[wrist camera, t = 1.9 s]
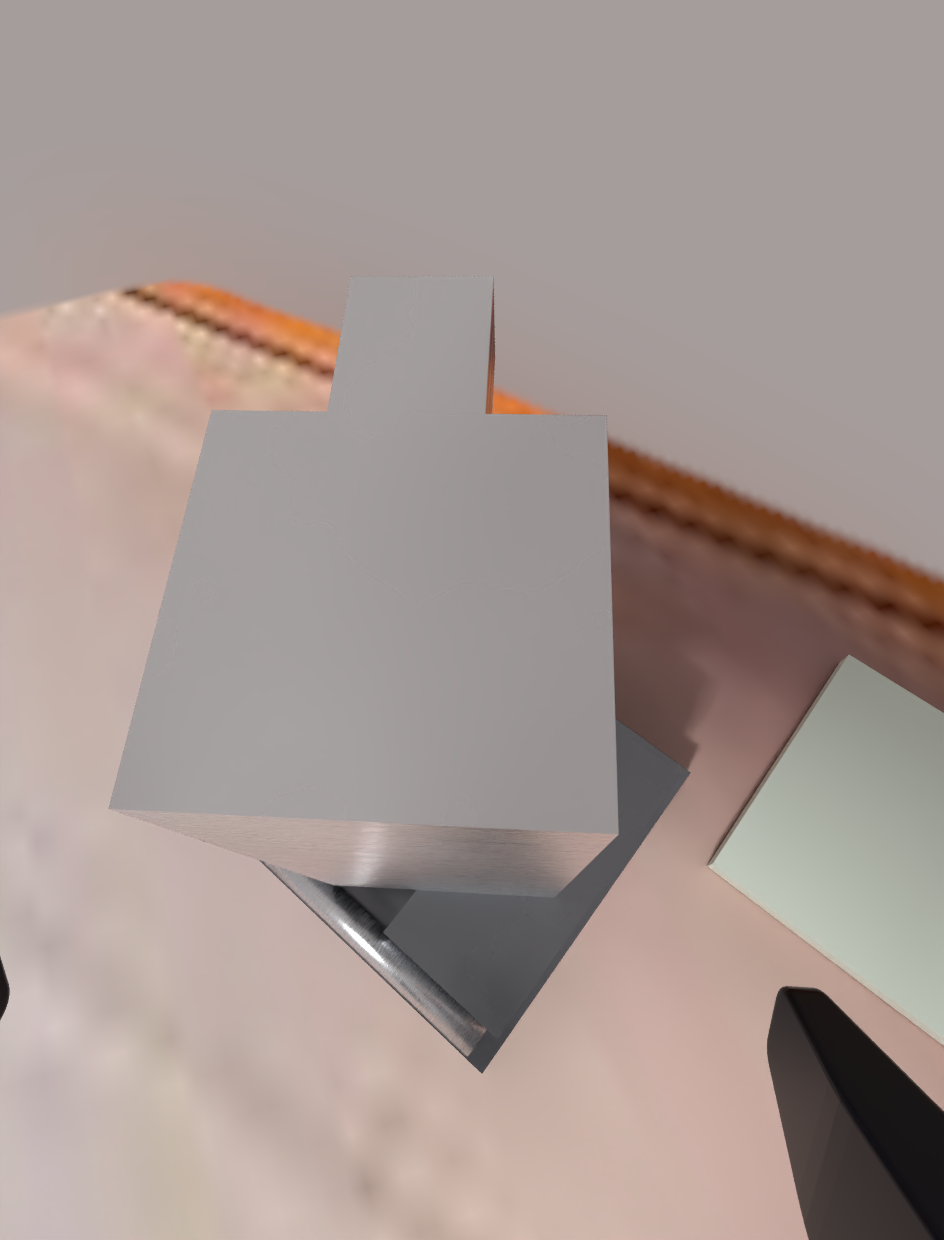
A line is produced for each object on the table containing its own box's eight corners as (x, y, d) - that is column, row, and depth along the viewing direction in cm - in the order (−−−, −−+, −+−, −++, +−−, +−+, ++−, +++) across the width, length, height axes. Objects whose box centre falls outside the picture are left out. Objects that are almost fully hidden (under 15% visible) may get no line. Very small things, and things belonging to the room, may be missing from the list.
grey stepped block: (554, 897, 16) (617, 835, 7) (332, 885, 16) (109, 808, 7) (556, 598, 19) (602, 276, 10) (369, 592, 19) (245, 276, 10)
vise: (483, 1067, 18) (472, 1122, 12) (235, 830, 20) (134, 788, 15) (682, 780, 20) (747, 720, 15) (440, 604, 23) (419, 497, 17)
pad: (980, 1073, 17) (995, 1077, 17) (707, 865, 19) (712, 863, 19) (1097, 822, 19) (1114, 819, 19) (839, 661, 21) (848, 654, 21)
